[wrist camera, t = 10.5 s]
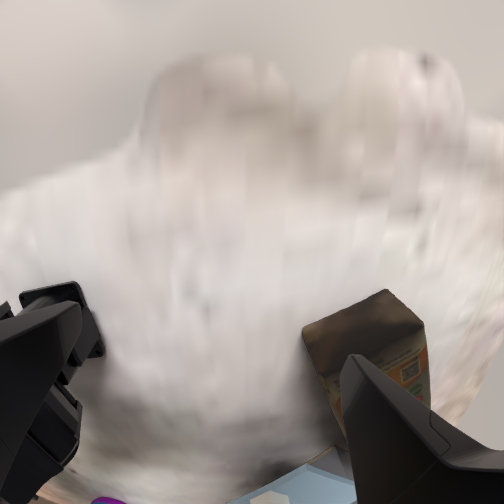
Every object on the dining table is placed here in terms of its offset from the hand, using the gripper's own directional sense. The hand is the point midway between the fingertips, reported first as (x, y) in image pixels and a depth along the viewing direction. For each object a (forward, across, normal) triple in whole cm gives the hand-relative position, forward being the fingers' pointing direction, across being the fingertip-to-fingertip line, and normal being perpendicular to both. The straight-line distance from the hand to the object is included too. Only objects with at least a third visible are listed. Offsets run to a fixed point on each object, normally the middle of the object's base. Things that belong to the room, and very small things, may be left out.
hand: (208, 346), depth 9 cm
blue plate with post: (+6, -11, +24) cm, 27 cm away
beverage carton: (+13, -14, +12) cm, 22 cm away
